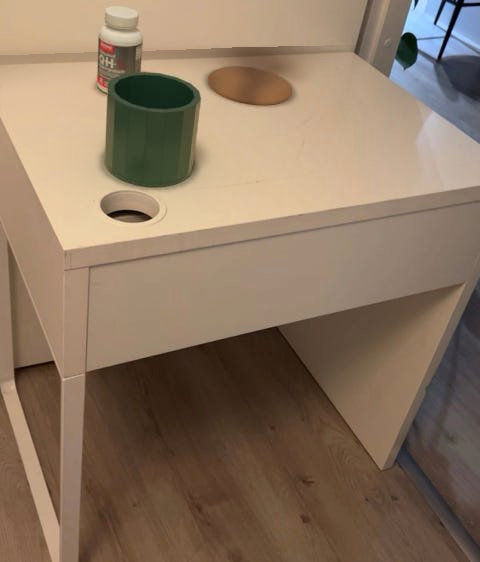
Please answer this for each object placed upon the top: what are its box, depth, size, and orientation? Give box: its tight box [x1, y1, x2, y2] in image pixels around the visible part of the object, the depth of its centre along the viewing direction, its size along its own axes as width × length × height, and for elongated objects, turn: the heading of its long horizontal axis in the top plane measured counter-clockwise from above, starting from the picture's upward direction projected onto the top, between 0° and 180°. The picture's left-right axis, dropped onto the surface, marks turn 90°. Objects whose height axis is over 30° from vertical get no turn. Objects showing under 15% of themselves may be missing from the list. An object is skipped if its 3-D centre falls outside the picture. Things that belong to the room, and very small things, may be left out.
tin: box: [104, 71, 202, 188], centre depth 77 cm, size 9×9×8 cm
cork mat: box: [207, 65, 293, 106], centre depth 100 cm, size 12×12×1 cm
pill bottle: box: [96, 5, 144, 94], centre depth 91 cm, size 5×5×10 cm
